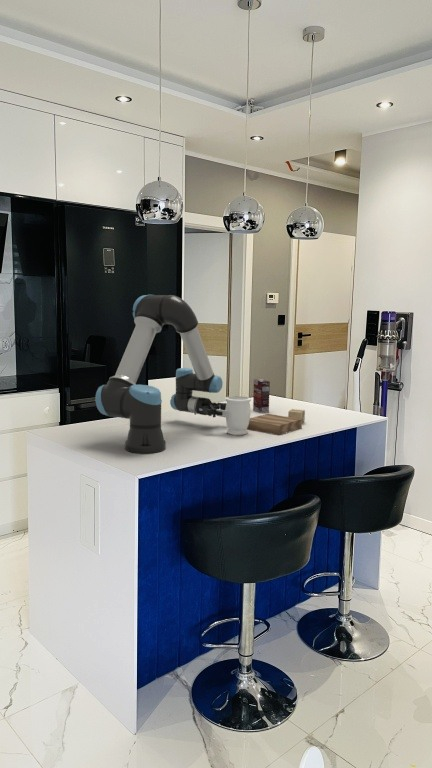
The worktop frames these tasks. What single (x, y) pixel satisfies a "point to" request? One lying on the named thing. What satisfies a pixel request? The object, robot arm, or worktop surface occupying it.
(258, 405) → the supplement box
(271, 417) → the walnut slab
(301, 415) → the oak cube
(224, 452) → the worktop surface
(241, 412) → the jar
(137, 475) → the worktop surface
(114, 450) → the worktop surface
